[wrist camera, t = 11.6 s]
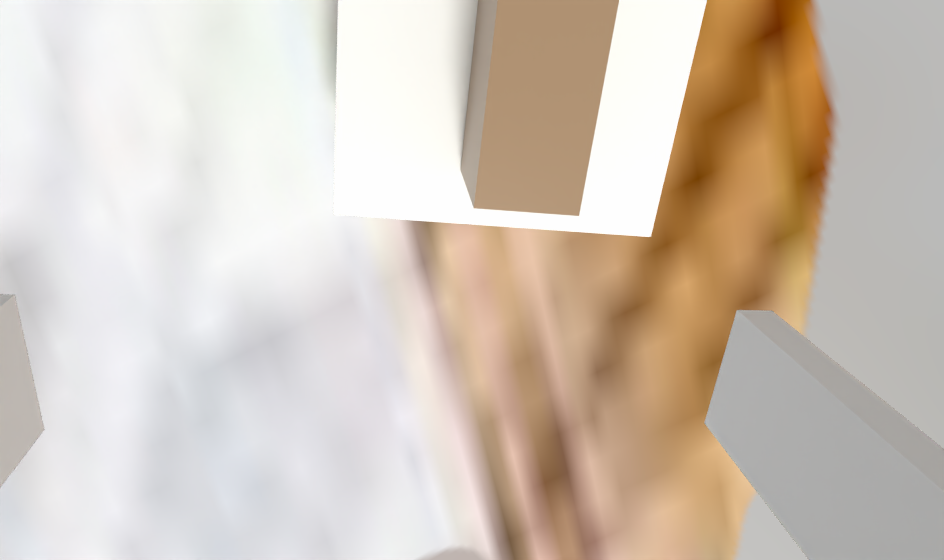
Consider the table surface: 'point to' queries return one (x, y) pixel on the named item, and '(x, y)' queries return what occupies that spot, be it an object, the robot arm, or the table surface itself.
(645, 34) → the cover board
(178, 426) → the table surface
